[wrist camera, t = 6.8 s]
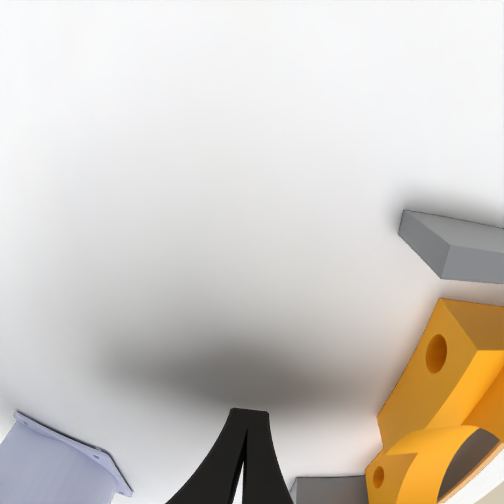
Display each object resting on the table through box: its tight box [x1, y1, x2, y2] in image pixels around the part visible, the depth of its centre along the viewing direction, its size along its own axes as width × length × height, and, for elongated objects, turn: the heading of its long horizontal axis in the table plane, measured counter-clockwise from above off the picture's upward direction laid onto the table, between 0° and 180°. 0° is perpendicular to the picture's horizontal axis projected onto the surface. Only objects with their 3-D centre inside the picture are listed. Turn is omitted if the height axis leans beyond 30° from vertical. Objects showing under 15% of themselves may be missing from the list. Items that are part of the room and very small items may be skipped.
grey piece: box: [289, 210, 504, 504], centre depth 10 cm, size 10×24×6 cm, turn 176°
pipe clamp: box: [365, 298, 504, 504], centre depth 9 cm, size 12×4×6 cm, turn 172°
